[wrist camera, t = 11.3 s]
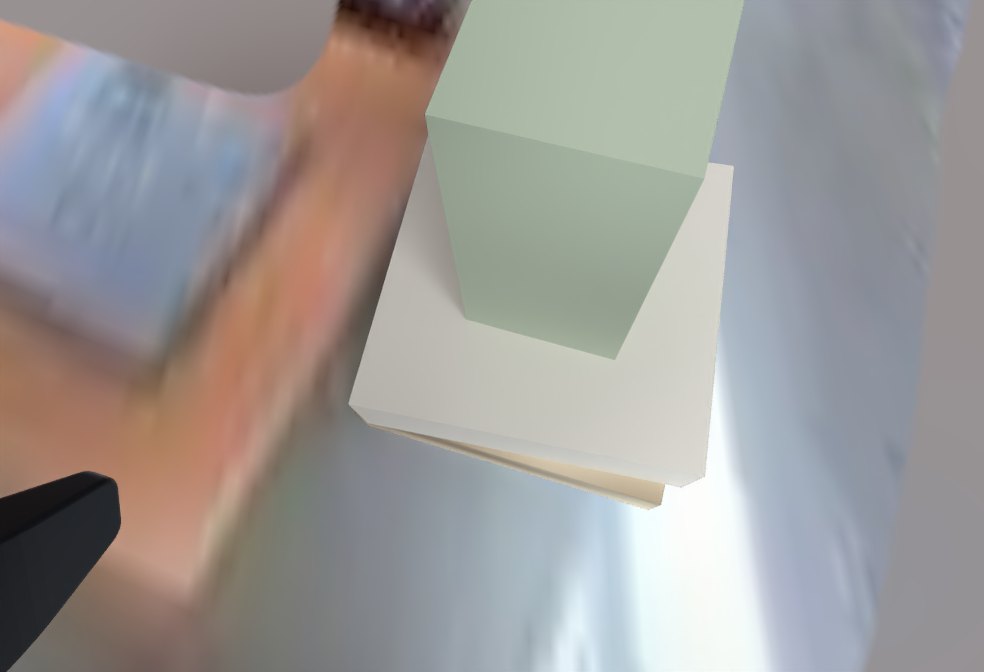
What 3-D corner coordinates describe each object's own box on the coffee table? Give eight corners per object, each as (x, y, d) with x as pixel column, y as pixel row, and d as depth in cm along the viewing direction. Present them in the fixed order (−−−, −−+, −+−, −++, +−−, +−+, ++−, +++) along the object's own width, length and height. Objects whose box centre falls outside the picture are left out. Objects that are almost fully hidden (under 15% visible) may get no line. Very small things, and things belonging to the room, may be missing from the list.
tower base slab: (644, 511, 21) (661, 504, 19) (371, 428, 23) (354, 412, 20) (698, 258, 24) (718, 226, 22) (456, 199, 26) (450, 162, 23)
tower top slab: (681, 487, 19) (704, 476, 17) (367, 423, 20) (348, 404, 18) (711, 208, 22) (733, 166, 20) (440, 165, 23) (432, 120, 21)
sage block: (614, 360, 18) (704, 178, 9) (466, 319, 18) (424, 114, 10) (648, 227, 19) (751, -34, 11) (508, 193, 20) (504, -80, 11)
